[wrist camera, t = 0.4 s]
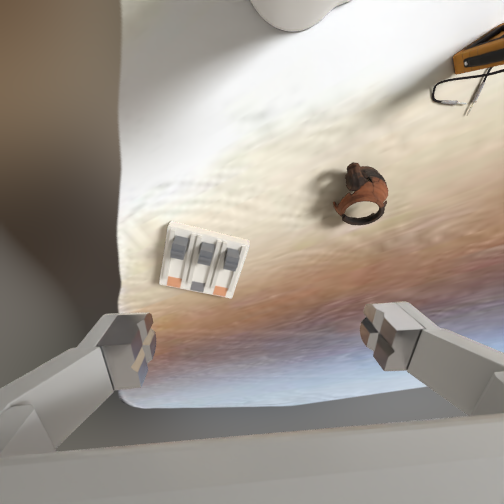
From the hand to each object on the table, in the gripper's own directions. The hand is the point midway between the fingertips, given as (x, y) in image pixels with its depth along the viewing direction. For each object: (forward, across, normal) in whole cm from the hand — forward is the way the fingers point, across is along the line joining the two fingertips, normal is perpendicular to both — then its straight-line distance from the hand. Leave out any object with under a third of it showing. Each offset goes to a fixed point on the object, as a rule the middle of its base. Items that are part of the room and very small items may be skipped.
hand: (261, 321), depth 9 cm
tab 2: (+36, +1, +13) cm, 38 cm away
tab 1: (+36, +11, +10) cm, 39 cm away
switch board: (+39, +7, +15) cm, 43 cm away
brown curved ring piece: (+38, -22, 0) cm, 44 cm away
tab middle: (+36, +6, +11) cm, 38 cm away
